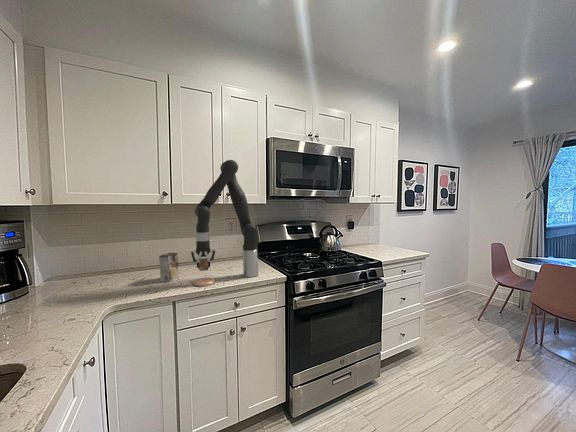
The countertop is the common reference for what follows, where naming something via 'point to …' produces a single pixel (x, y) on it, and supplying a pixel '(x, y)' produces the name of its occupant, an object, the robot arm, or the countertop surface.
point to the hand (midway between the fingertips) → (203, 267)
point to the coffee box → (168, 267)
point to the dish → (204, 282)
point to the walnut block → (203, 264)
